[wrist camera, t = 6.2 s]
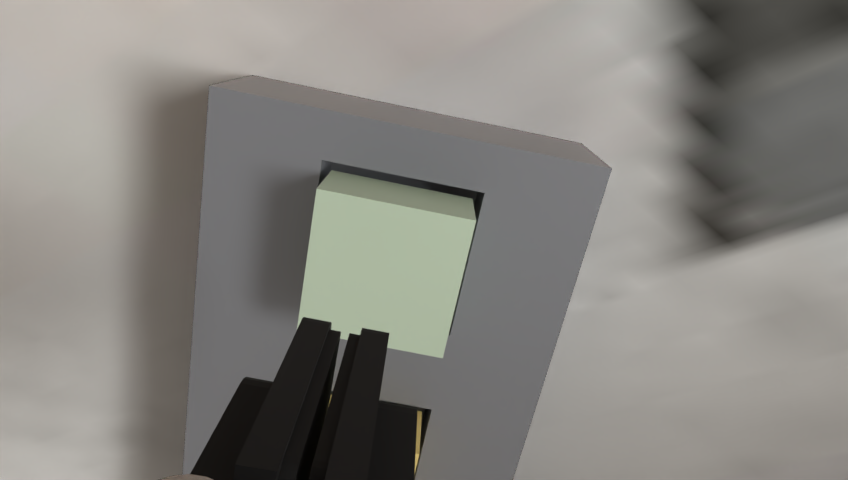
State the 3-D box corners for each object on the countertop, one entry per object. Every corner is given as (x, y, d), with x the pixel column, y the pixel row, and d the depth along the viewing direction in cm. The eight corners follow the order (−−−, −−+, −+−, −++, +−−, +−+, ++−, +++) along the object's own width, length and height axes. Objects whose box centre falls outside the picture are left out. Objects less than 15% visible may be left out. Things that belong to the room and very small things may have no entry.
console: (581, 143, 21) (611, 168, 17) (443, 610, 29) (443, 696, 25) (252, 75, 20) (209, 85, 17) (206, 568, 29) (170, 649, 25)
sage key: (472, 198, 18) (476, 220, 16) (442, 323, 19) (442, 358, 17) (331, 170, 18) (316, 188, 16) (313, 297, 19) (296, 330, 17)
